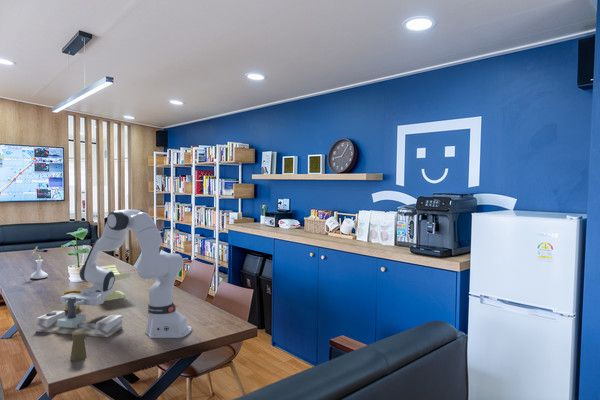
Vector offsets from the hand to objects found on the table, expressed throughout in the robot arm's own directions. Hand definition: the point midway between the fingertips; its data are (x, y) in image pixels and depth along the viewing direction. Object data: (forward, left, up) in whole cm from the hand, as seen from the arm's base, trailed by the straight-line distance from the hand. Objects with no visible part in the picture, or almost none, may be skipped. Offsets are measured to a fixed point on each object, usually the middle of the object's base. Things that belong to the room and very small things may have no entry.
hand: (70, 304), depth 194 cm
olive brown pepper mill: (-25, +28, -13) cm, 40 cm away
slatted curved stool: (+15, -55, -13) cm, 58 cm away
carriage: (0, -1, -12) cm, 12 cm away
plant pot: (+21, -29, -13) cm, 38 cm away
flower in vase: (+95, -88, -13) cm, 130 cm away
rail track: (-5, -1, -13) cm, 14 cm away
